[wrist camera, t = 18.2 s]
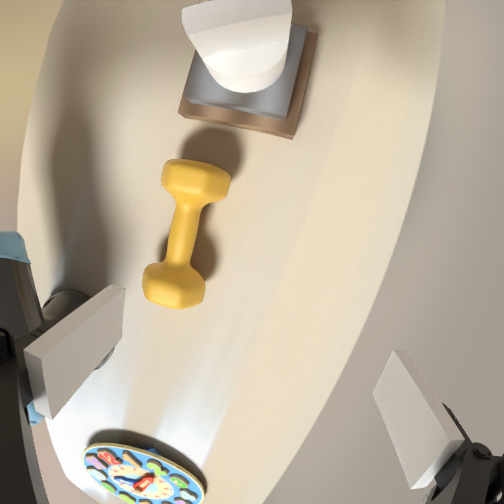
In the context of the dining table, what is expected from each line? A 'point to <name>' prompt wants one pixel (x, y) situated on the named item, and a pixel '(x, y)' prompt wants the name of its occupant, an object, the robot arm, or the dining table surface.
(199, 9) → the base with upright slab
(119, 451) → the shape sorting clock
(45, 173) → the dining table surface
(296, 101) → the grey and brown block
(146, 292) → the dumbbell
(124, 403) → the dining table surface
